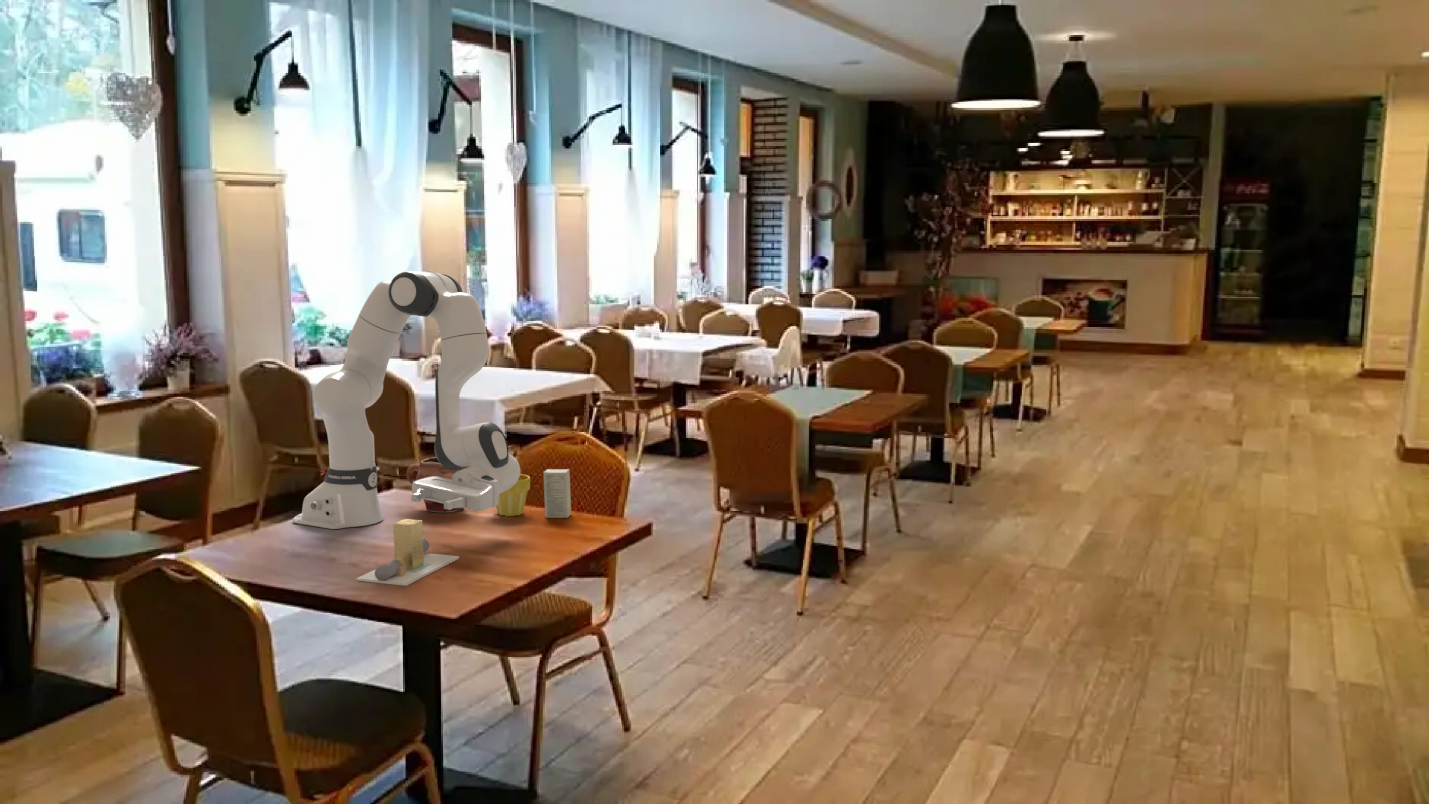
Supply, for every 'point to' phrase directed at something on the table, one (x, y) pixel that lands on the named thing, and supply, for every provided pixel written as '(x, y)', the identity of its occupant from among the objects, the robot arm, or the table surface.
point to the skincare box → (557, 493)
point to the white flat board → (402, 576)
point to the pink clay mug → (428, 470)
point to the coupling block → (409, 543)
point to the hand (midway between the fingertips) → (429, 502)
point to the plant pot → (514, 497)
